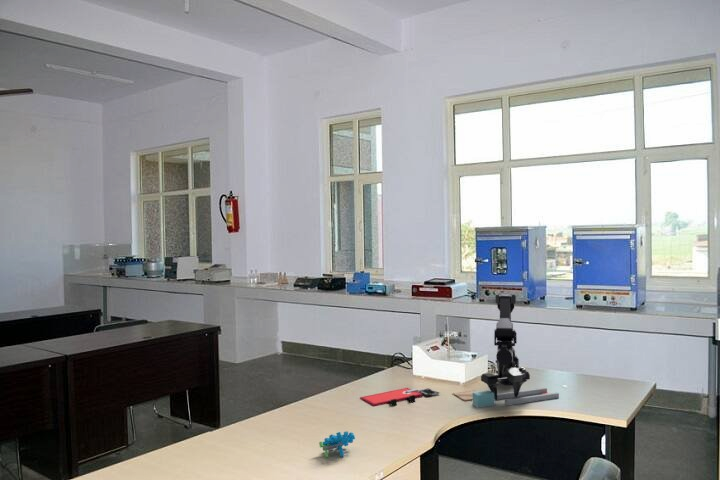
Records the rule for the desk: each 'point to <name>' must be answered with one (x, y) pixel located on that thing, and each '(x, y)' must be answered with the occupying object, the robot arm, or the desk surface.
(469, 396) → the walnut pad
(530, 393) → the channel
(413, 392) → the red board with handle
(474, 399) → the teal block
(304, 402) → the desk surface
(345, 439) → the blue plastic figure
